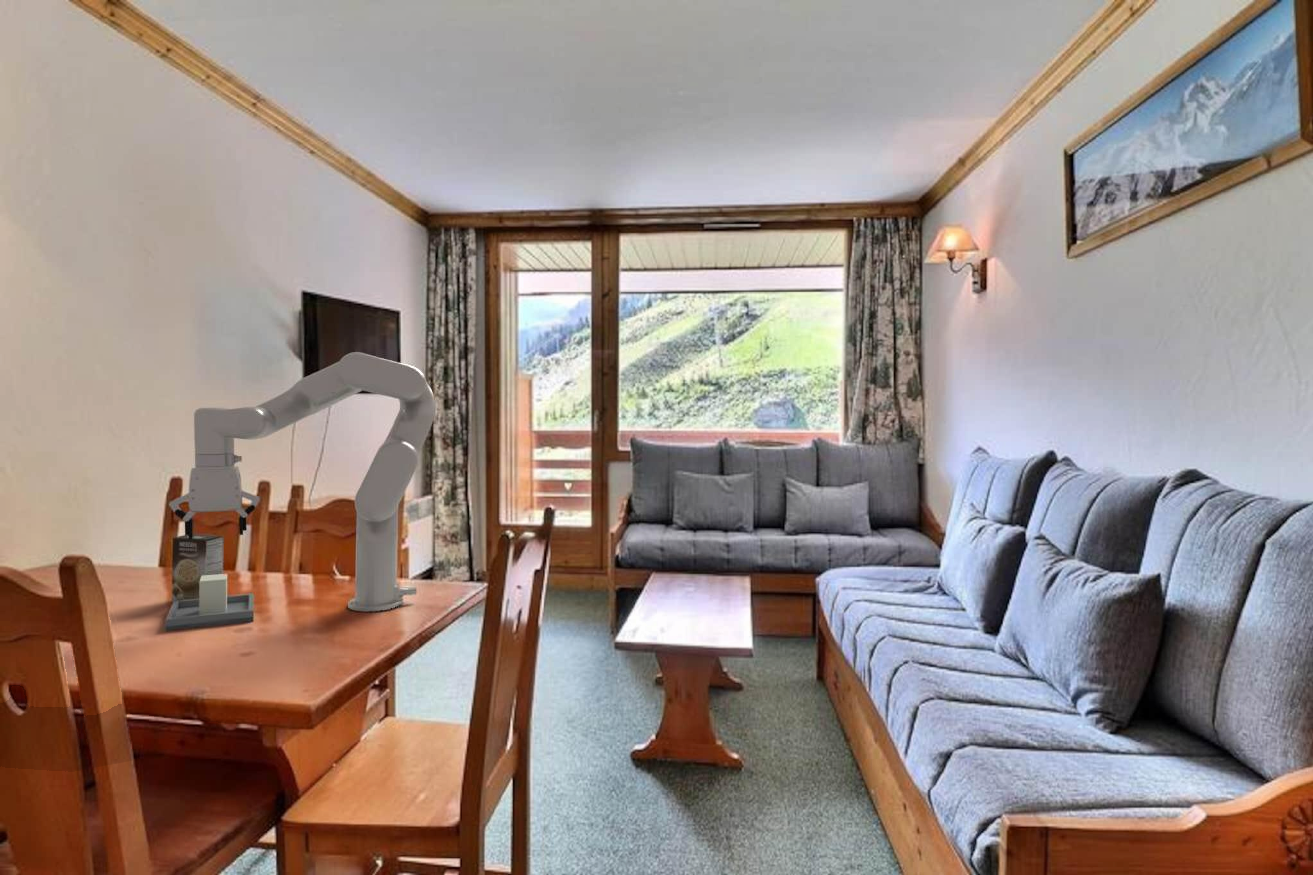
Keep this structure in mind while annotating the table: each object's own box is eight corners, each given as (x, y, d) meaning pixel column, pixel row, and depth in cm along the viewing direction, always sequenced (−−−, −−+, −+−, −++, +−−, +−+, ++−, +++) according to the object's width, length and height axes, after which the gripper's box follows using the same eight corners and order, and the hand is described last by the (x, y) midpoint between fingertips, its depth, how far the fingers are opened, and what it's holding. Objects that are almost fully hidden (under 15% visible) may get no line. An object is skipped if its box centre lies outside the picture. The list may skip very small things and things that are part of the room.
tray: (253, 603, 163) (253, 593, 163) (253, 621, 149) (253, 610, 149) (173, 611, 155) (173, 601, 155) (165, 631, 141) (165, 619, 141)
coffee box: (169, 602, 162) (170, 537, 161) (190, 595, 168) (191, 533, 168) (204, 604, 161) (205, 539, 160) (224, 597, 167) (225, 534, 167)
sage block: (226, 607, 156) (227, 573, 156) (225, 614, 151) (226, 579, 150) (201, 609, 153) (201, 575, 153) (199, 616, 148) (199, 581, 148)
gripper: (259, 459, 159) (260, 530, 159) (170, 462, 150) (171, 537, 150) (259, 461, 152) (260, 535, 153) (166, 464, 143) (168, 542, 144)
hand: (216, 536), depth 152 cm, fingers open, 9 cm apart
